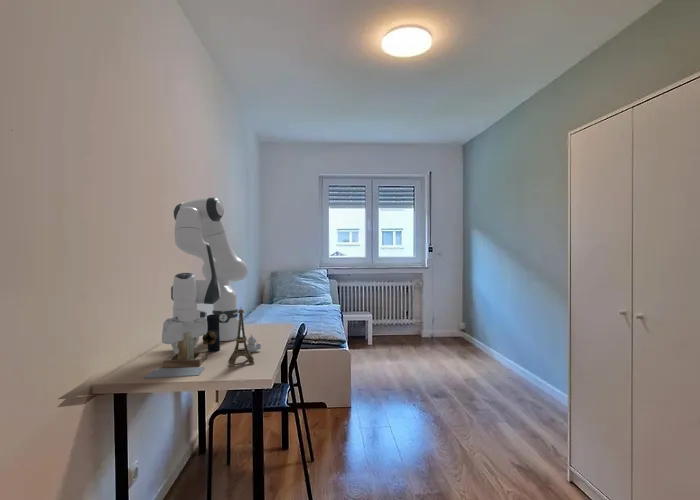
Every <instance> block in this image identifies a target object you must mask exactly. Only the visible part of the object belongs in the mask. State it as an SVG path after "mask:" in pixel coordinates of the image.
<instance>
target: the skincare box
mask: <svg viewBox="0 0 700 500" xmlns="http://www.w3.org/2000/svg"><path fill="white" fill-rule="evenodd" d="M183 335H184V340H183V341H180V342H178V345H177V346H178V348H180V353H178V354H177V360H179V359H194V352H195V349H194V338H192V337H191V332H186V333H184V334H183Z"/></svg>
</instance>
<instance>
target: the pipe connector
mask: <svg viewBox="0 0 700 500" xmlns="http://www.w3.org/2000/svg"><path fill="white" fill-rule="evenodd" d="M206 319H207V333H206V335H203V336H202V344H203V345H207V351H208V352H211V353H215V352H218V351H220V350H221V343H220V342H221V341H220V333H219V315H217V314H207V317H206Z"/></svg>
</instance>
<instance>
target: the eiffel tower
mask: <svg viewBox="0 0 700 500" xmlns="http://www.w3.org/2000/svg"><path fill="white" fill-rule="evenodd" d="M244 313H245V311H244V309H243V308H240V309H238V319H239V325H238V335H237V337H236V340H235V341H236V342H235V347H234V349H233V352H232V353H231V355H230V357H229V358H228V360H227V363H228V366H227V367H228V368H234V367H236V365H235V363H236V361H237V358H238V359H239V357H245V358H246V360H247V361H248V365H249V366H252V365H255V361H254V360H255V358H254V356H253V355H252V353H250V352H249V349H248V347H247V340H248V339H247V336H246V335H245V334H246V333H245V326H244V315H243V314H244ZM241 328H242V330H241ZM240 330H241V331H242V335H243V337H240ZM240 344H243V346H244V347H240Z"/></svg>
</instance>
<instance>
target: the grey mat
mask: <svg viewBox="0 0 700 500" xmlns="http://www.w3.org/2000/svg"><path fill="white" fill-rule="evenodd" d="M205 369H206V366H200V367H179V368H153V369H152V370H151V371H150V372H149V373H147V375H146V376H144V379H163V378H164V379H165V378H183V377H184V378H185V377H199V376H200V375H201V373H203V372H204V370H205Z"/></svg>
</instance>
